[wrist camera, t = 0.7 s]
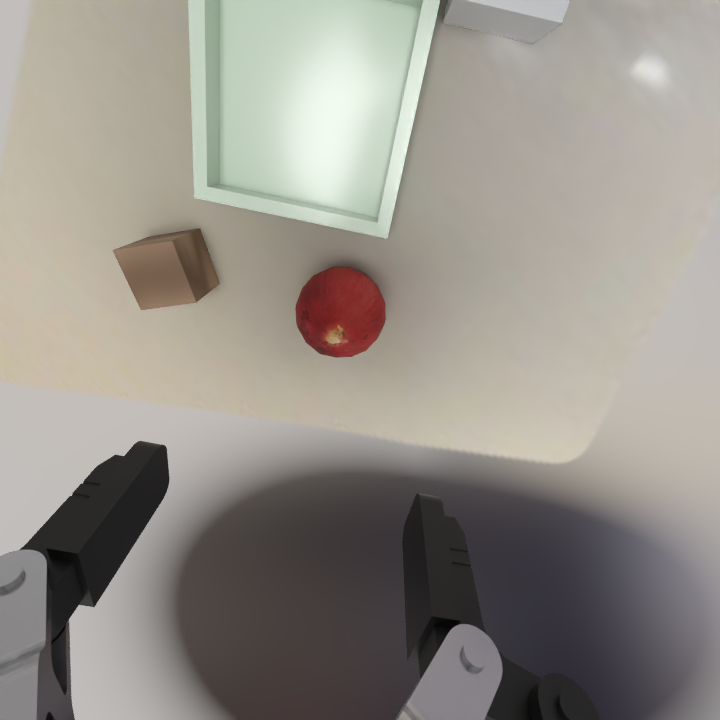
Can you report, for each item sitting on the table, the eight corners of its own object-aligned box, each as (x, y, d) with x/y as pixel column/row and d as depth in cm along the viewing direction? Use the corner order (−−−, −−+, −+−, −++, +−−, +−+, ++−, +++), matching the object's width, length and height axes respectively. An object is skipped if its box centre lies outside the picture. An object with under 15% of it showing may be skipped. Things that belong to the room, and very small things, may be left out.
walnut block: (148, 237, 27) (112, 250, 23) (200, 228, 26) (171, 240, 23) (170, 290, 29) (141, 310, 25) (219, 283, 28) (196, 302, 25)
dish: (208, -60, 19) (185, -87, 17) (438, -5, 19) (445, -24, 17) (210, 193, 25) (194, 198, 23) (387, 230, 25) (387, 238, 23)
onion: (348, 343, 30) (337, 402, 23) (291, 295, 28) (260, 343, 21) (401, 292, 27) (406, 341, 21) (342, 237, 26) (326, 270, 19)
